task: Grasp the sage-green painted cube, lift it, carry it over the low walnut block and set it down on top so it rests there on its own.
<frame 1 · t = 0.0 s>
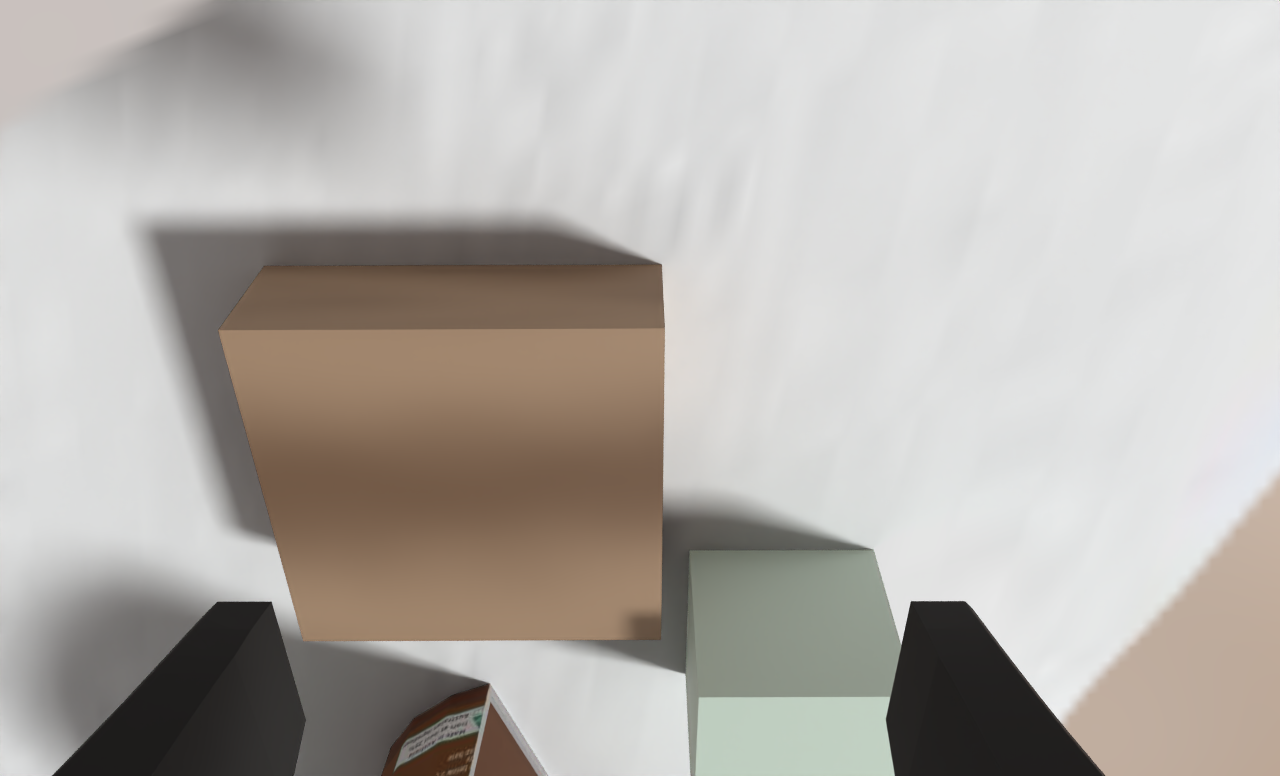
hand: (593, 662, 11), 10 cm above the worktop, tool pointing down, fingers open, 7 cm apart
walnut block: (483, 416, 22), on the worktop
sage cube: (774, 612, 25), on the worktop
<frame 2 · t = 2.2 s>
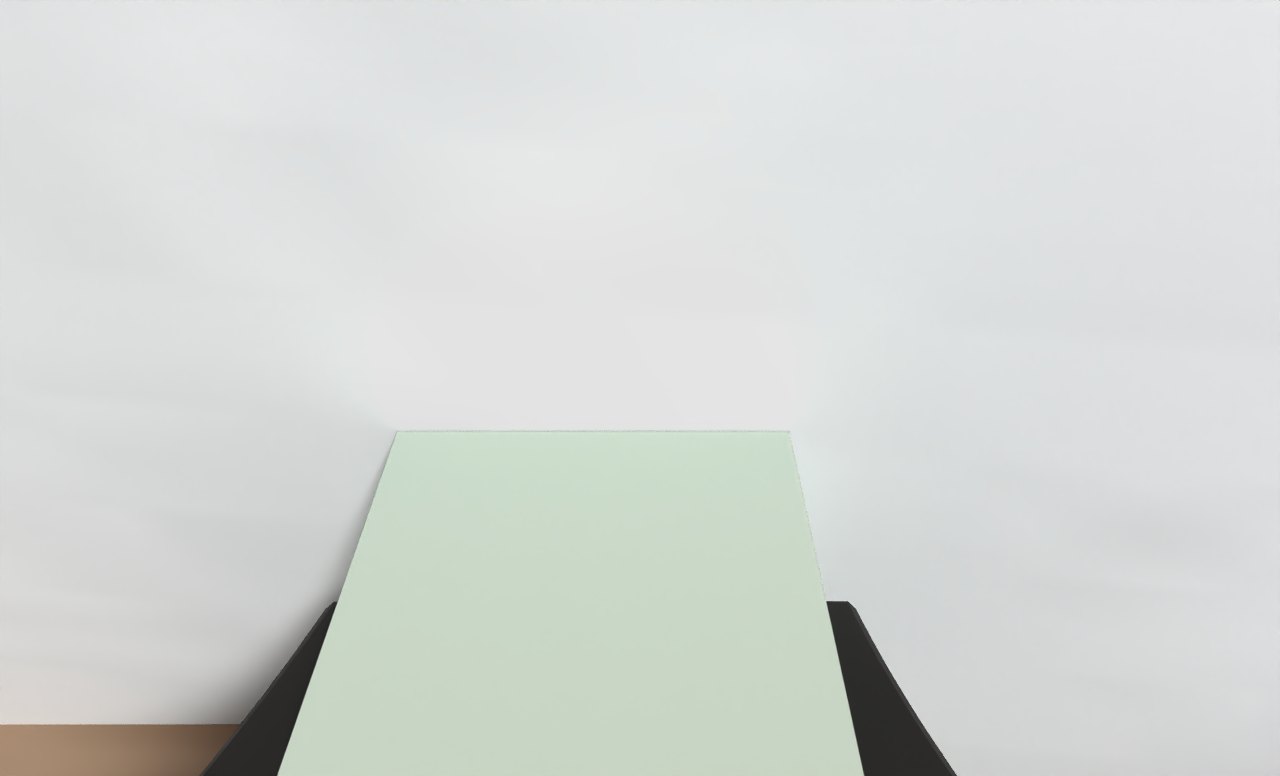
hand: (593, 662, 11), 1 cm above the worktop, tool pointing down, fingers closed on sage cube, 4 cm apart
sage cube: (597, 574, 13), on the worktop, touching gripper
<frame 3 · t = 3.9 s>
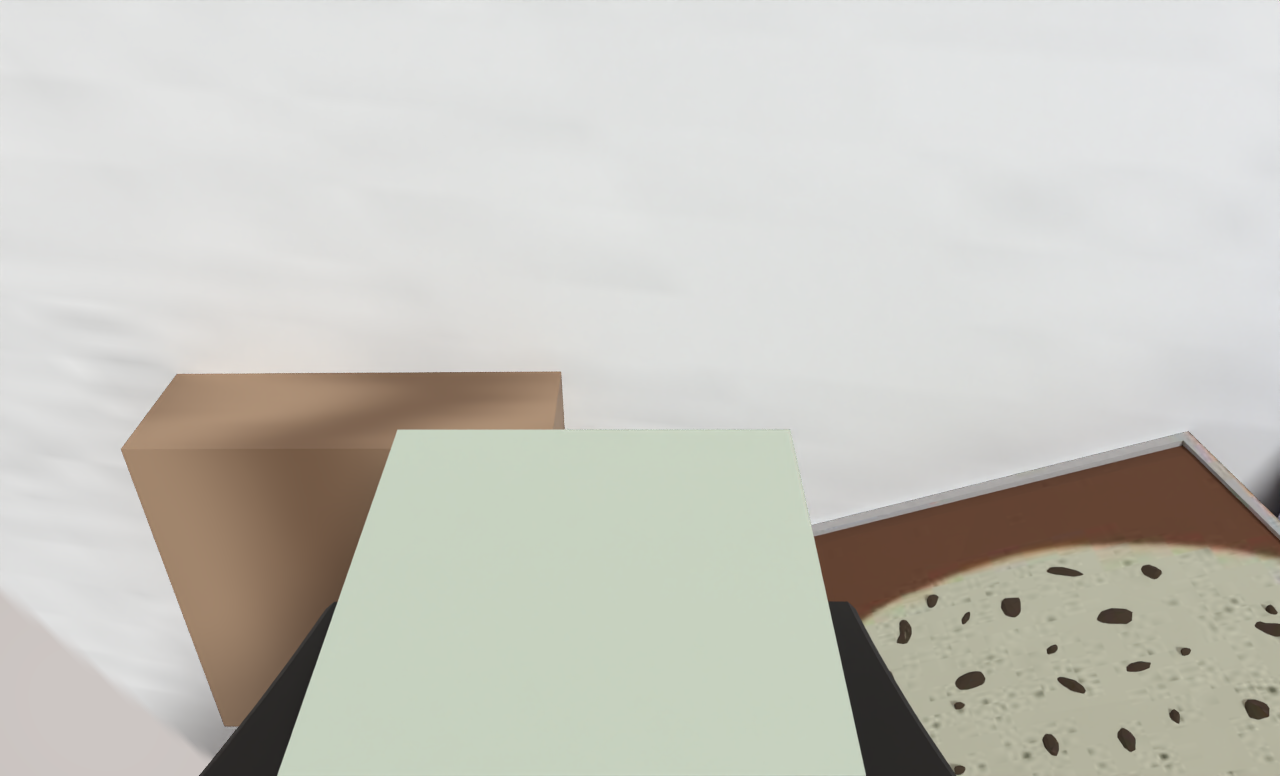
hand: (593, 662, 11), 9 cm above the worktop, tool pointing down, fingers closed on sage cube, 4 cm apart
food container: (986, 573, 24), on the worktop
walnut block: (400, 508, 23), on the worktop
sage cube: (598, 572, 13), point 8 cm above the worktop, touching gripper
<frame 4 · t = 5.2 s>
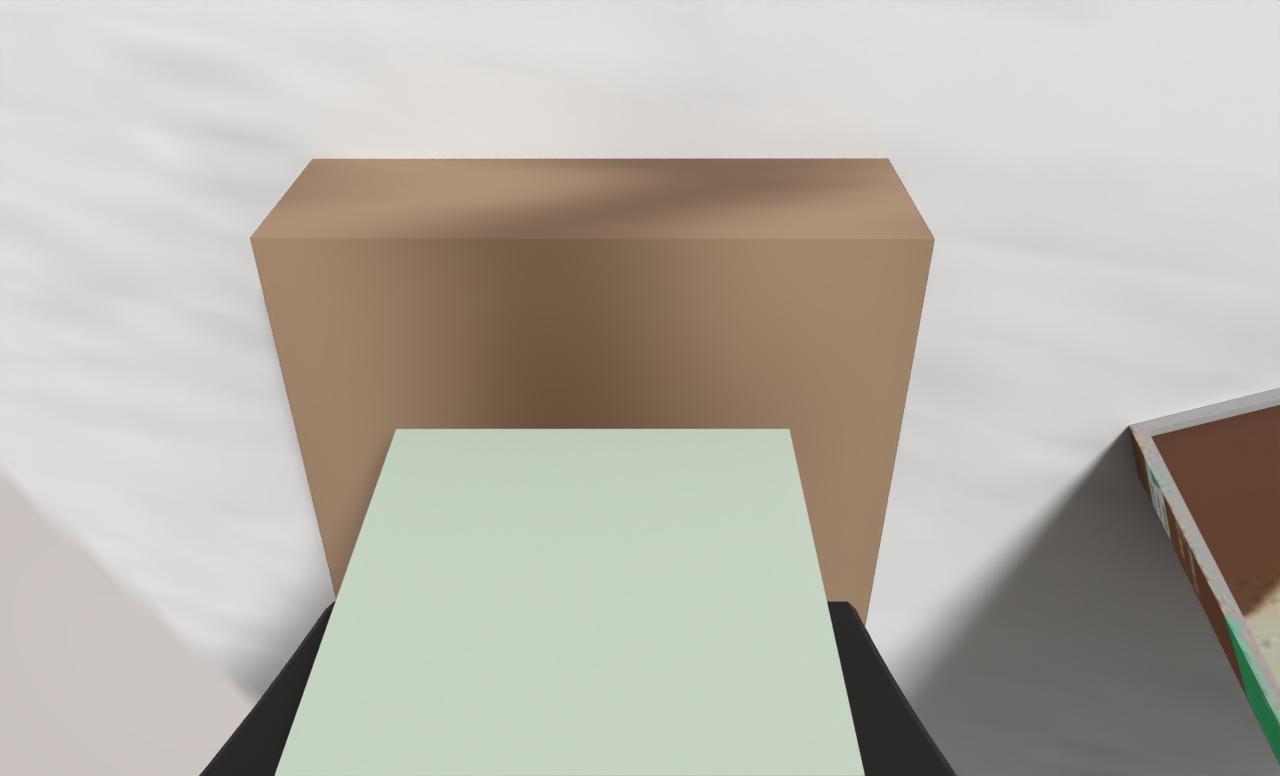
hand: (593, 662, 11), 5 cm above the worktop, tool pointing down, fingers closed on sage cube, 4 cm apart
walnut block: (606, 384, 16), on the worktop
sage cube: (597, 572, 12), point 4 cm above the worktop, touching gripper
when the fingers open (5 cm above the worktop, at t = 5.9 s): sage cube drops 1 cm, resting on walnut block.
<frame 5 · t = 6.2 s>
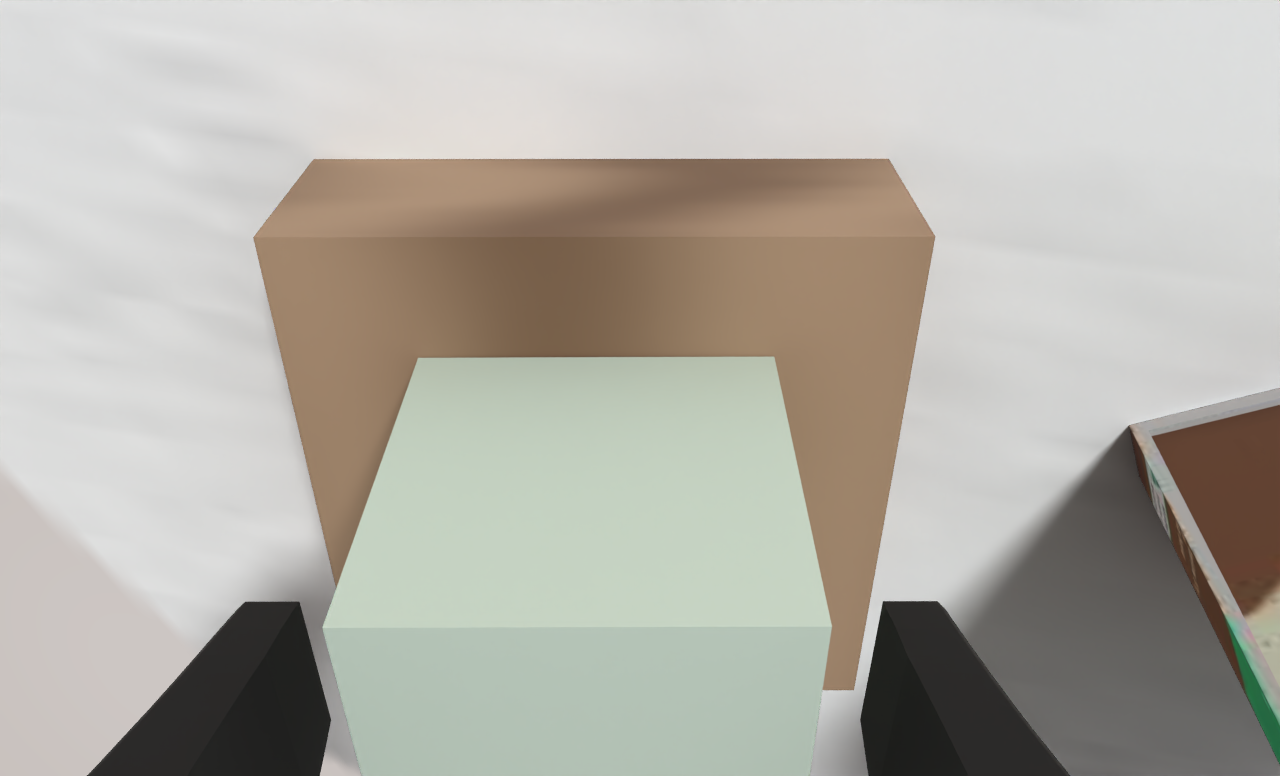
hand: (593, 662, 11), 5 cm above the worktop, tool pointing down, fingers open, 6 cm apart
walnut block: (607, 382, 16), on the worktop, touching sage cube
sage cube: (600, 494, 14), point 3 cm above the worktop, touching walnut block
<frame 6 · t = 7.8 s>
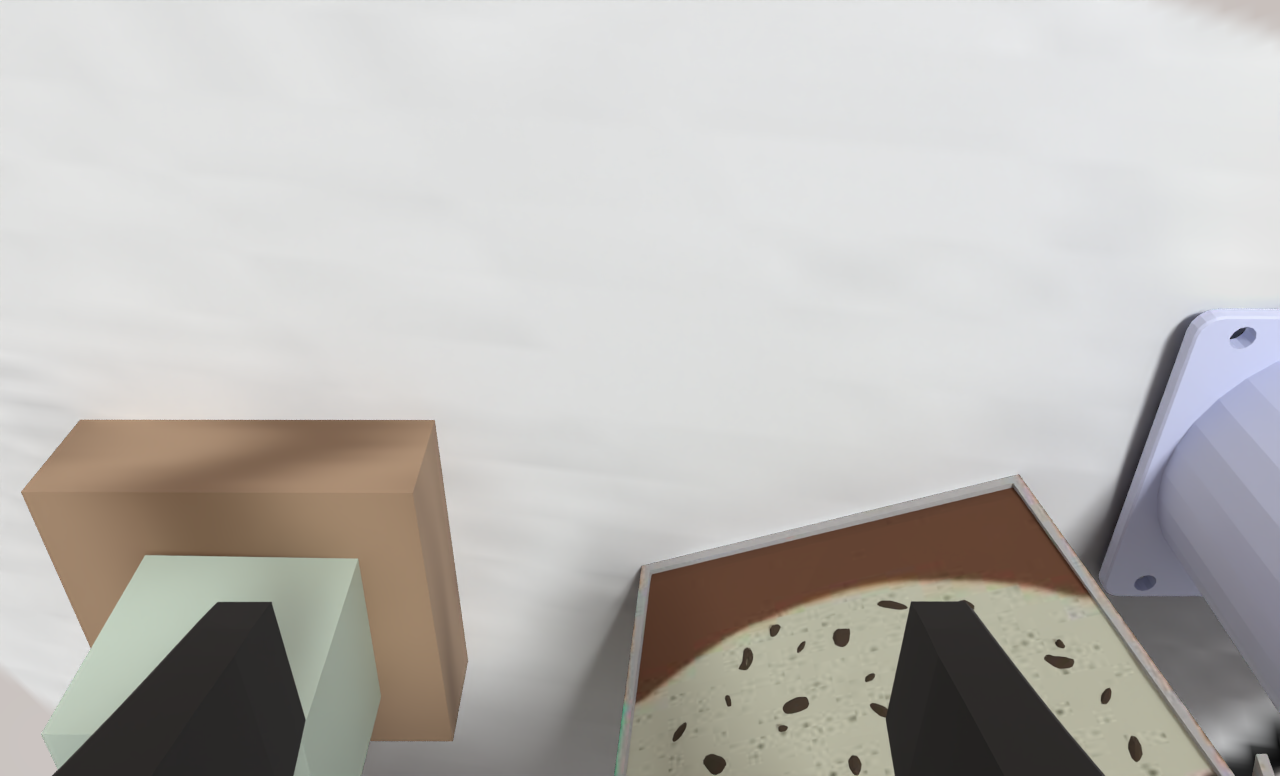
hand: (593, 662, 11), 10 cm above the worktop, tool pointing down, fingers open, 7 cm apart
food container: (847, 601, 26), on the worktop
walnut block: (297, 538, 25), on the worktop
sage cube: (270, 630, 22), point 3 cm above the worktop
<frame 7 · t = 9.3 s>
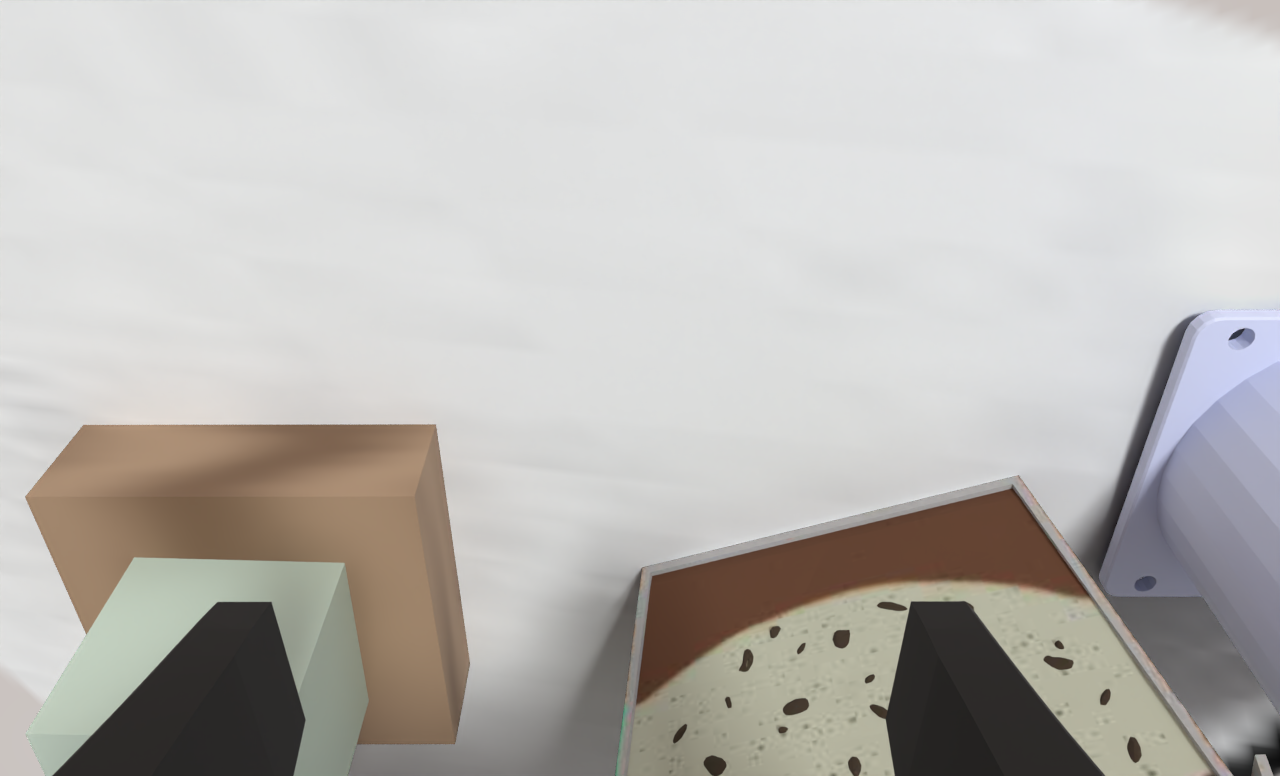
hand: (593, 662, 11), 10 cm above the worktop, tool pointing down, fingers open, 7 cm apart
food container: (848, 602, 26), on the worktop
walnut block: (299, 542, 25), on the worktop, touching sage cube
sage cube: (258, 632, 22), point 3 cm above the worktop, touching walnut block
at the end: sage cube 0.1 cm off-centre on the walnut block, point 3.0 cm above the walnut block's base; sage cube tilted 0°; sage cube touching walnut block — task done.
